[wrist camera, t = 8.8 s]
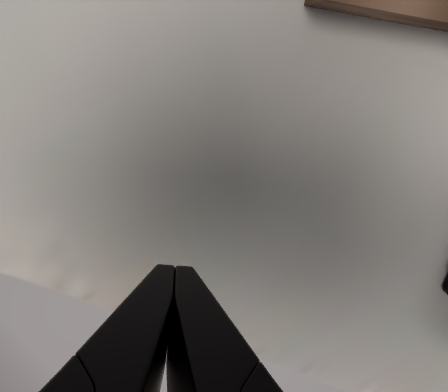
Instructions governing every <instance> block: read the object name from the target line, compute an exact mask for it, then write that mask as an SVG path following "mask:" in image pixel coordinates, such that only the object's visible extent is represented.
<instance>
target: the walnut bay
mask: <svg viewBox="0 0 448 392" xmlns="http://www.w3.org/2000/svg"><path fill="white" fill-rule="evenodd" d="M304 5H305V6H310V7H316V8H321V9H327V10H332V11H338V12H343V13H349V14H354V15H360V16H365V17H370V18H376V19H381V20H387V21H392V22H398V23H403V24H409V25H414V26H420V27H425V28H431V29H436V30H442V31H447V32H448V0H305V3H304Z"/></svg>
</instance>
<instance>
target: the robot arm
mask: <svg viewBox="0 0 448 392" xmlns="http://www.w3.org/2000/svg"><path fill="white" fill-rule="evenodd" d="M443 291H444V292H445V293H446V294H447V295H448V277H447V279H446V281H445V283H444V285H443ZM166 354H167V361H166ZM165 363H166V365H167V366H166V367H167V392H283V391H282V390H281V388H280V387H279V386H278V384H277V383H276V382H275V380H274V379H273V378H272V376H271V375H270V374H269V372H268V371H267V369H266V368H265V367H264V365H263V364H262V363H261V362H260V360H259V359H258V357H257V356H256V354H255V353H254V352H253V350H252V349H251V347H250V346H249V345H248V343H247V342H246V340H245V339H244V338H243V336H242V335H241V333H240V332H239V331H238V329H237V328H236V327H235V325H234V324H233V322H232V321H231V320H230V318H229V317H228V315H227V314H226V313H225V311H224V310H223V308H222V307H221V306H220V304H219V303H218V301H217V300H216V299H215V297H214V296H213V294H212V293H211V292H210V290H209V289H208V288H207V286H206V285H205V283H204V282H203V281H202V279H201V278H200V276H199V275H198V274H197V272H196V271H195V269H194V268H193V267H190V266H176V267H174V266H173V265H163V264H158V265H156V266H155V267H154V269H153V270H152V271H151V272H150V273H149V274H148V275H147V276H146V277H145V278H144V279H143V280H142V282H141V283H140V284H139V285H138V286H137V287H136V288H135V289H134V290H133V291H132V292H131V294H130V295H129V296H128V297H127V298H126V299H125V300H124V301H123V302H122V303H121V304H120V306H119V307H118V308H117V309H116V310H115V311H114V312H113V313H112V314H111V315H110V316H109V318H108V319H107V320H106V321H105V322H104V323H103V324H102V325H101V326H100V327H99V329H98V330H97V331H96V332H95V333H94V334H93V335H92V336H91V337H90V338H89V339H88V340H87V342H86V343H85V344H84V345H83V346H82V347H81V348H80V349H79V350H78V351H77V352H76V355H75V356H72V357H71V359H70V360H69V361H68V362H67V363H66V364H65V365H64V366H63V367H62V368H61V370H60V371H59V372H58V373H57V374H56V375H55V376H54V377H53V378H52V379H51V380H50V381H49V382H48V383H47V384H46V385H45V386H44V387H43V388H42V389H41V390H40V391H39V392H160V388H161V383H162V378H163V374H164V368H165Z"/></svg>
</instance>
